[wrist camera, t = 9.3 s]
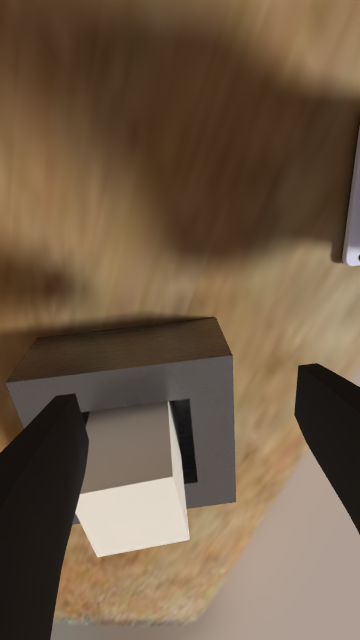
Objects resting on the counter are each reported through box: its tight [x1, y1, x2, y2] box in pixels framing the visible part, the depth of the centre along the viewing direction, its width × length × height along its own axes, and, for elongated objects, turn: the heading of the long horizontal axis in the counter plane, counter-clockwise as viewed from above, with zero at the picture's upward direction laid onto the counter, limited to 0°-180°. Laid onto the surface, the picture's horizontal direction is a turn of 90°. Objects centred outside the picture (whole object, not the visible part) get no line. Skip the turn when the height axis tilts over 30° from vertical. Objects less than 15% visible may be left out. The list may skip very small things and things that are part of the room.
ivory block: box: [75, 401, 190, 557], centre depth 17 cm, size 4×4×8 cm
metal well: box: [6, 318, 236, 524], centre depth 20 cm, size 11×11×4 cm
